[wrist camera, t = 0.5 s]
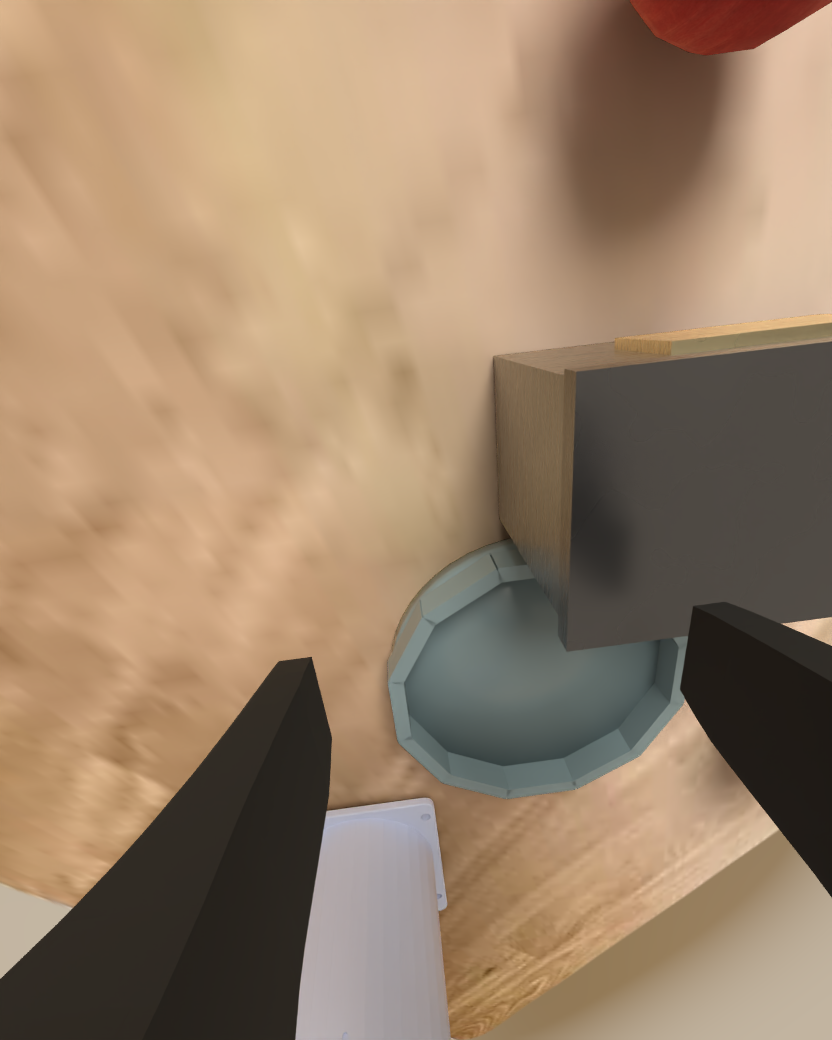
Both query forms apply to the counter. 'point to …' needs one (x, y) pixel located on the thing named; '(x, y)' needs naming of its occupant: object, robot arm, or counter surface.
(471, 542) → the counter surface
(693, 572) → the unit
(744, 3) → the onion
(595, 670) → the plate
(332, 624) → the counter surface
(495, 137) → the counter surface
